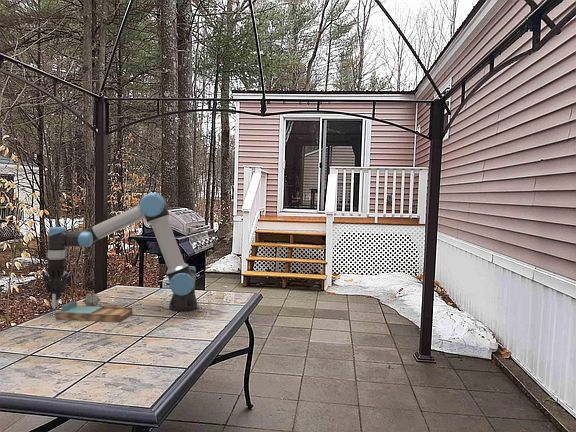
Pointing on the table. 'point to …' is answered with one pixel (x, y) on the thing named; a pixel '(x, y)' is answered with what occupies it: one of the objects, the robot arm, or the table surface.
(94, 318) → the board
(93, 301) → the game die
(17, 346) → the table surface
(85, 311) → the cover
